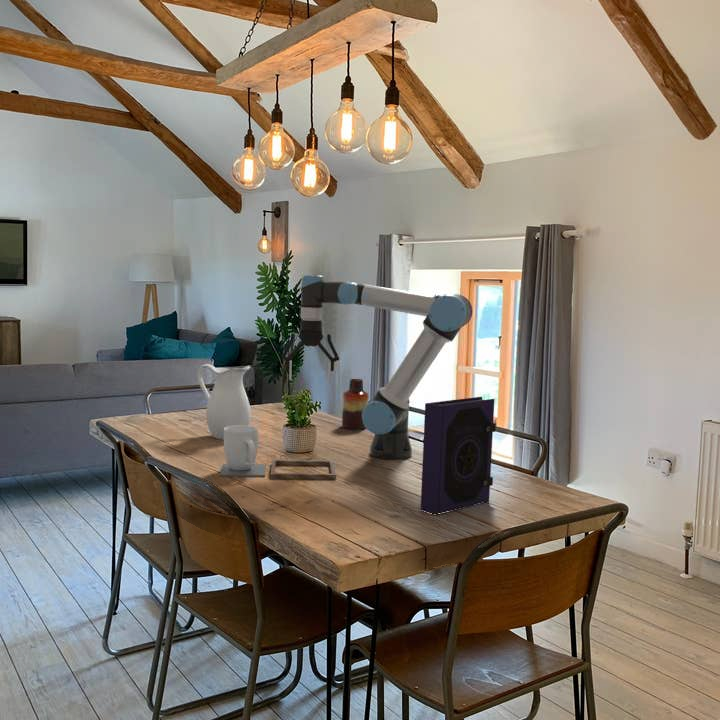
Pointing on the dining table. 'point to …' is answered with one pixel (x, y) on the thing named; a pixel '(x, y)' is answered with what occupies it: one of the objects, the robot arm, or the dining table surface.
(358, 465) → the dining table surface
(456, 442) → the book
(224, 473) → the slate trivet
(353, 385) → the vase
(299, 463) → the frame
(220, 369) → the pitcher
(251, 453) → the mug
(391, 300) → the robot arm
